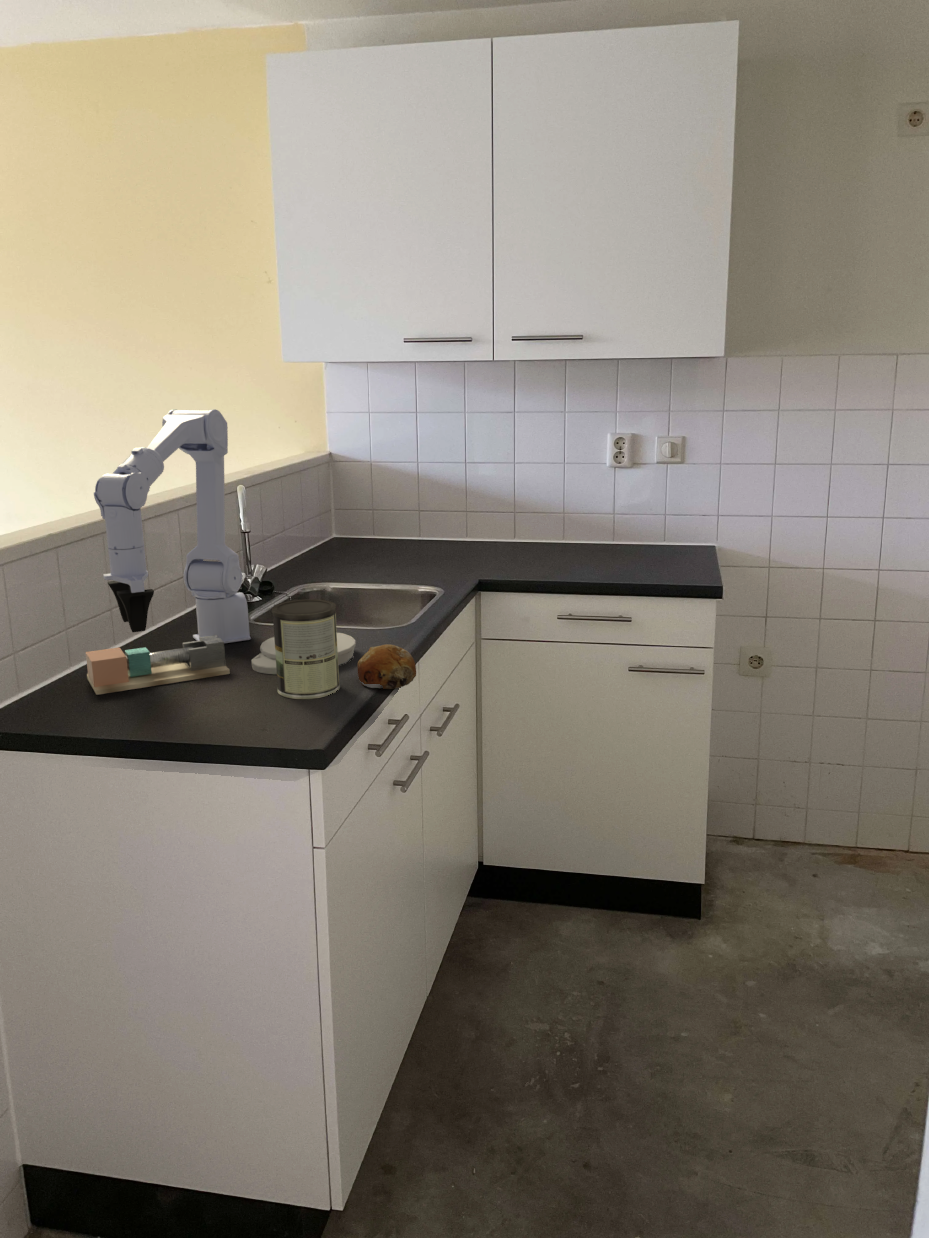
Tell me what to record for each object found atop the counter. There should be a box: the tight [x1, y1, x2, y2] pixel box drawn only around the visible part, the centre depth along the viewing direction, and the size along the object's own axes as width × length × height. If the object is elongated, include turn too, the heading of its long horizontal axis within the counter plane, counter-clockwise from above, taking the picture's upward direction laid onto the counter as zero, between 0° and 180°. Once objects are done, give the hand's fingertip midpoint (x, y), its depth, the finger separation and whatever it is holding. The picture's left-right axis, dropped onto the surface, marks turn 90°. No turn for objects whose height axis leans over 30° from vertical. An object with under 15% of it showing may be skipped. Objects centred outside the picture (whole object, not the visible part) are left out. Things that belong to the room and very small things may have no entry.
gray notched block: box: [182, 635, 227, 671], centre depth 173 cm, size 6×5×4 cm
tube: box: [124, 646, 193, 677], centre depth 169 cm, size 15×3×4 cm, turn 118°
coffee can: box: [271, 598, 341, 700], centre depth 161 cm, size 10×10×14 cm
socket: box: [85, 646, 129, 687], centre depth 166 cm, size 6×6×4 cm
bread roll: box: [357, 643, 417, 690], centre depth 166 cm, size 10×10×8 cm
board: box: [86, 663, 231, 696], centre depth 170 cm, size 22×10×1 cm, turn 118°
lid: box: [250, 632, 357, 675], centre depth 179 cm, size 17×20×3 cm
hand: (134, 626), depth 166 cm, fingers open, 7 cm apart
